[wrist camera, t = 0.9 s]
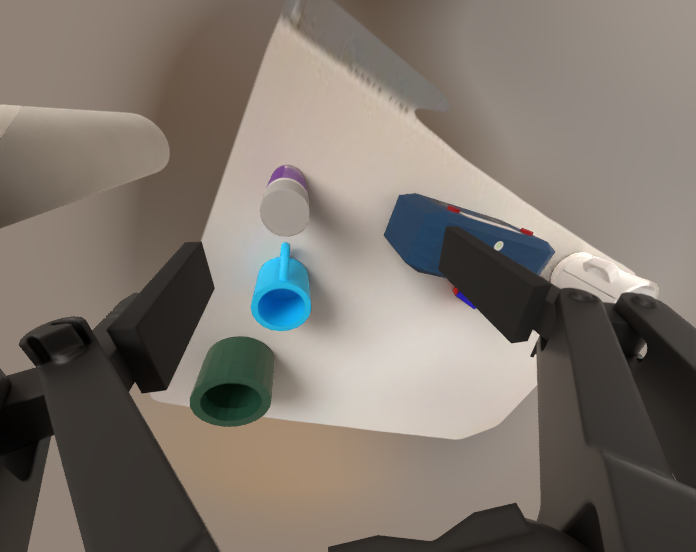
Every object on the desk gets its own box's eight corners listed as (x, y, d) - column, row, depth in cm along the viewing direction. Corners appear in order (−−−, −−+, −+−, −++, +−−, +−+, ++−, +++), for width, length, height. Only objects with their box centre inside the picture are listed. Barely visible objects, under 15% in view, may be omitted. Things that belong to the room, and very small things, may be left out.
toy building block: (463, 273, 53) (472, 284, 45) (481, 286, 52) (493, 299, 45) (451, 287, 54) (457, 300, 46) (469, 300, 54) (478, 315, 46)
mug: (306, 300, 48) (308, 331, 41) (257, 298, 46) (250, 330, 39) (313, 236, 42) (317, 258, 35) (258, 231, 40) (250, 253, 33)
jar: (191, 364, 50) (172, 408, 42) (236, 325, 48) (225, 364, 40) (244, 391, 56) (237, 435, 48) (287, 358, 53) (286, 398, 46)
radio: (507, 218, 47) (633, 274, 29) (481, 263, 50) (579, 336, 33) (399, 183, 40) (478, 228, 23) (379, 237, 44) (433, 310, 27)
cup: (534, 282, 55) (589, 319, 44) (565, 242, 51) (633, 272, 41) (568, 294, 58) (628, 330, 48) (600, 256, 54) (671, 288, 44)
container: (264, 173, 37) (247, 201, 24) (295, 158, 36) (296, 178, 24) (281, 205, 39) (275, 245, 26) (311, 191, 39) (319, 225, 26)
